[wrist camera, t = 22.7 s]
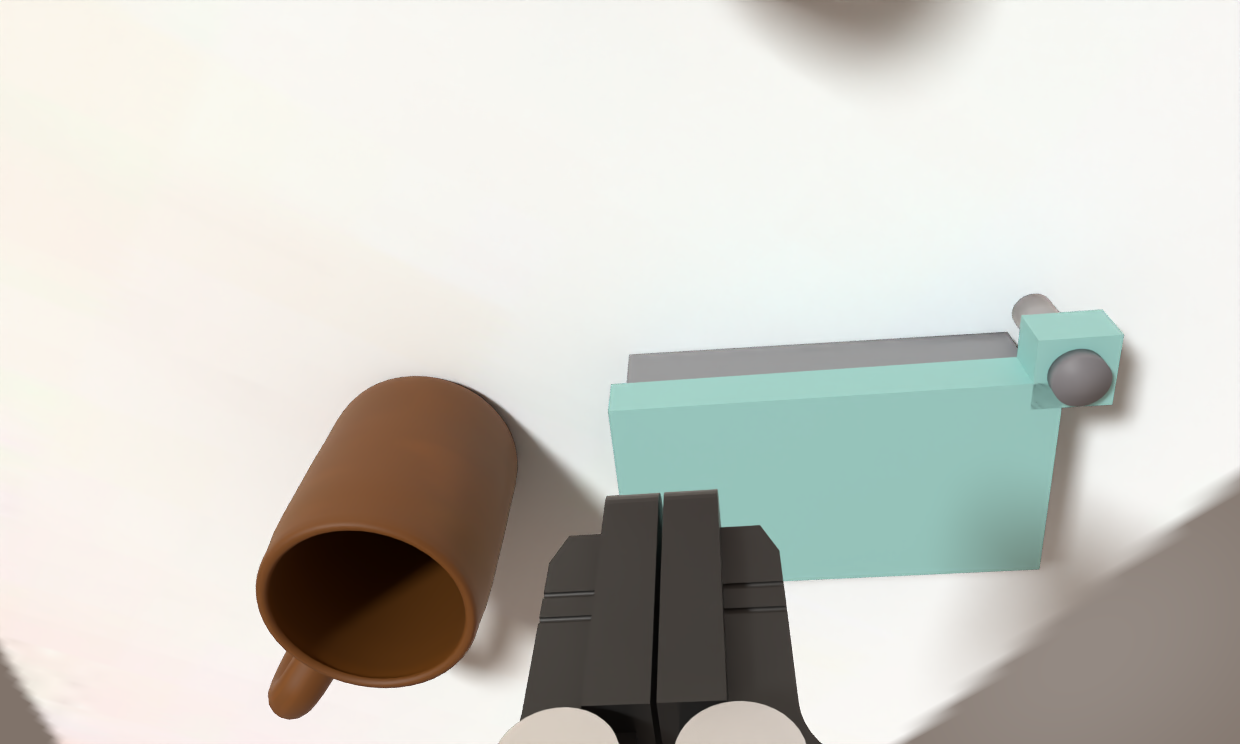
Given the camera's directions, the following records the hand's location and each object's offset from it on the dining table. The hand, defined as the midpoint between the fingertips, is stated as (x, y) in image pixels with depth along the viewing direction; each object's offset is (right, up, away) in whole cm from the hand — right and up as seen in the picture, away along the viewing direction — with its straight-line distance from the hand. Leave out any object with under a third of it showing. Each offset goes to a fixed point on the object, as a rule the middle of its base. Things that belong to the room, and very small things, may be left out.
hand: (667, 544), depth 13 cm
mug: (-10, -2, +28) cm, 29 cm away
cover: (+8, 0, +22) cm, 23 cm away
